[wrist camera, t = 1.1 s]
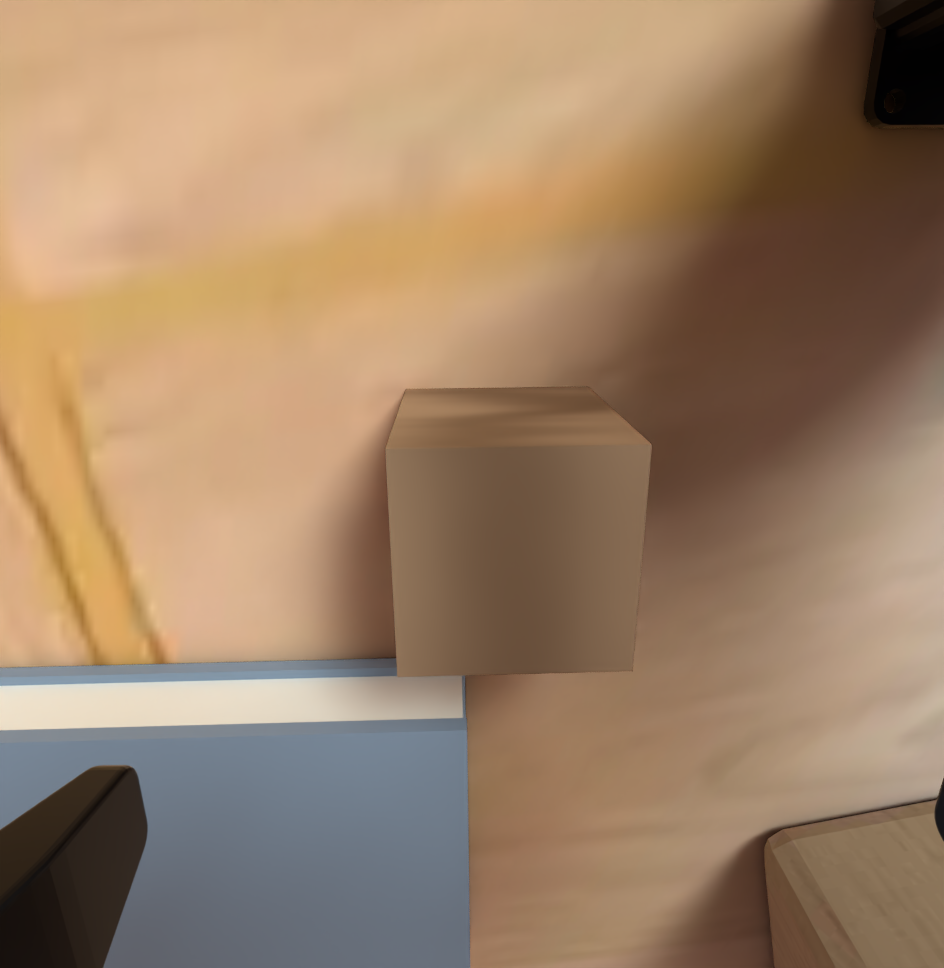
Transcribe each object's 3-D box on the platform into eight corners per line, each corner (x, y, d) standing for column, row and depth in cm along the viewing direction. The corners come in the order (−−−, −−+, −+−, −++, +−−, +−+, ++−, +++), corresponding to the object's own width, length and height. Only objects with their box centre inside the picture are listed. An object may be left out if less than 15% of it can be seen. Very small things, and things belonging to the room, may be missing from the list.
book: (464, 656, 20) (467, 730, 17) (468, 931, 24) (471, 1033, 21) (-54, 669, 20) (-150, 747, 17) (34, 946, 24) (-30, 1052, 21)
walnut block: (588, 386, 18) (652, 444, 12) (579, 551, 19) (632, 670, 14) (406, 388, 18) (385, 449, 12) (412, 555, 19) (397, 676, 14)
